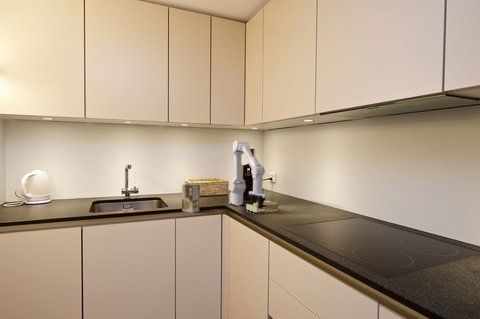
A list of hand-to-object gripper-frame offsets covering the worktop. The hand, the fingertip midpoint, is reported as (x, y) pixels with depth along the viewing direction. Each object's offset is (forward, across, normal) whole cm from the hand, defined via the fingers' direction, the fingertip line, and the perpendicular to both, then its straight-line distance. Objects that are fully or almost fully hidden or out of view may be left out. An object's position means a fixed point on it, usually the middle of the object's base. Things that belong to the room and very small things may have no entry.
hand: (257, 207), depth 170 cm
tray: (+2, 0, 0) cm, 2 cm away
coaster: (-1, 0, 0) cm, 1 cm away
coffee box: (+3, -23, -34) cm, 41 cm away
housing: (+3, 0, +8) cm, 8 cm away
